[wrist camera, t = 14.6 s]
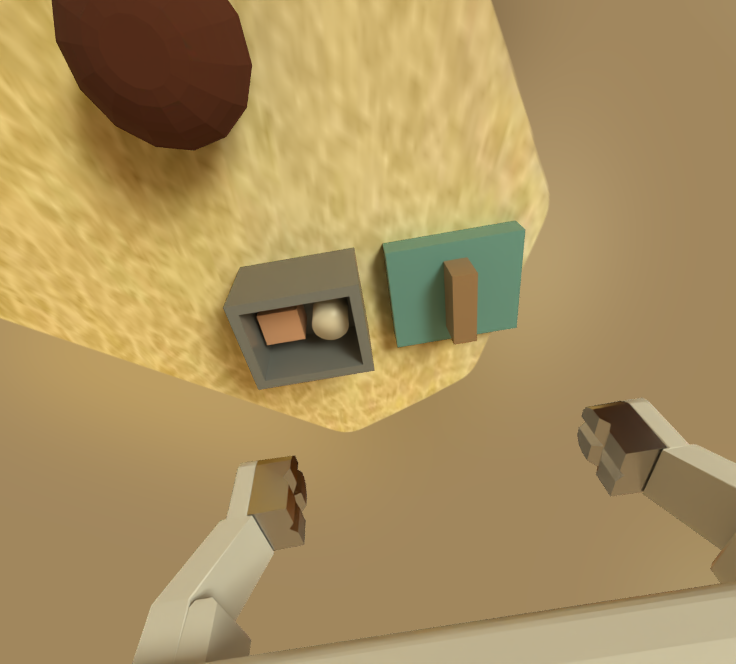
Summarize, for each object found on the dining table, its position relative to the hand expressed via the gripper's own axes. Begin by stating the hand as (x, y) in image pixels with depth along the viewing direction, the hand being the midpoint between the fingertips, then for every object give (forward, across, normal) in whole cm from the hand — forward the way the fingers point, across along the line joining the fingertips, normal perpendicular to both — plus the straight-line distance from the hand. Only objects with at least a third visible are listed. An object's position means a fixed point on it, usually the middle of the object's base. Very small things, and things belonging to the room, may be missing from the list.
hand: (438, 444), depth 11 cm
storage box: (+31, +8, +12) cm, 34 cm away
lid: (+31, -8, +13) cm, 35 cm away
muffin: (+31, +12, -11) cm, 35 cm away
